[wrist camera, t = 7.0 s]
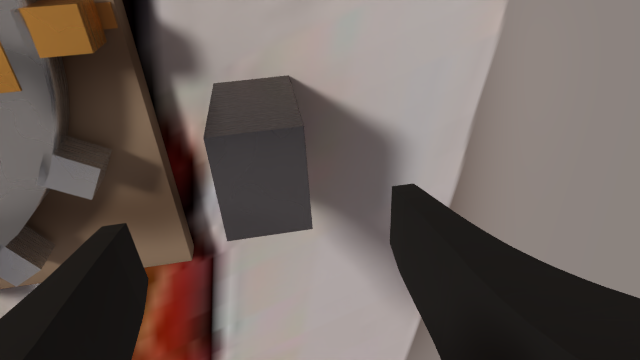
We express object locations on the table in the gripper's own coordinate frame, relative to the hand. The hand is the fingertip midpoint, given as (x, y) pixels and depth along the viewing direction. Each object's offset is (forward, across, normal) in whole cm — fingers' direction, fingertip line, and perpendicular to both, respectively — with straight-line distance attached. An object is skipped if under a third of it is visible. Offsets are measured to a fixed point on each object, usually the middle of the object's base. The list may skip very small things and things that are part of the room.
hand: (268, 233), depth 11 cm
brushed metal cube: (+7, 0, 0) cm, 7 cm away
